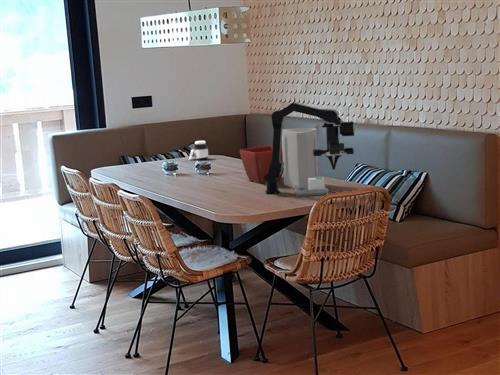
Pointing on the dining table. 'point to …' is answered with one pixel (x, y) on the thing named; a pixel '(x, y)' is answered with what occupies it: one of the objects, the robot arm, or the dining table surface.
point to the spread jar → (199, 151)
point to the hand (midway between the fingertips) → (333, 169)
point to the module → (316, 183)
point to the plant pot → (258, 162)
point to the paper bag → (299, 156)
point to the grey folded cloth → (309, 191)
